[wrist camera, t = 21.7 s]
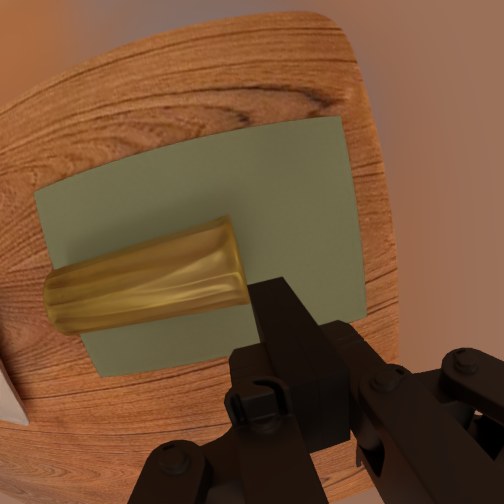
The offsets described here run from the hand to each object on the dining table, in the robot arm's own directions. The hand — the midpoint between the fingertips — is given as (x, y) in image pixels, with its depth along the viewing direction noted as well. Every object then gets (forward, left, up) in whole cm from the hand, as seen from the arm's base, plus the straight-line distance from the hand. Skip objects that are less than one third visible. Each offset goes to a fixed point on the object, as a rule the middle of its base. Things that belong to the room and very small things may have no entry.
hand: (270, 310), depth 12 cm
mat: (+2, +3, -12) cm, 12 cm away
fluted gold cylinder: (0, 0, -8) cm, 8 cm away
